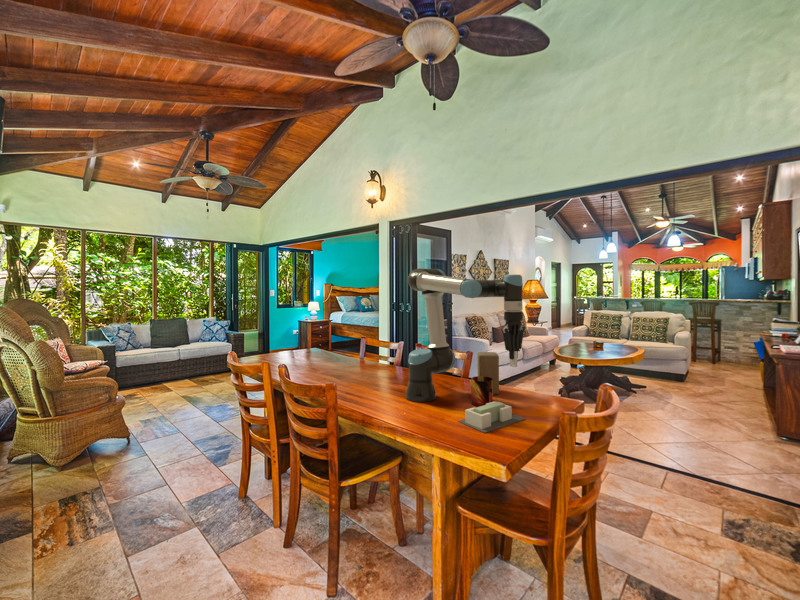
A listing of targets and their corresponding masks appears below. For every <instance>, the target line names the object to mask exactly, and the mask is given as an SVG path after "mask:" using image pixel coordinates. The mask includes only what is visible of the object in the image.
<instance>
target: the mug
mask: <svg viewBox="0 0 800 600" xmlns="http://www.w3.org/2000/svg"><path fill="white" fill-rule="evenodd" d="M470 380H471V382H470V383H471V385H470V388H471V393H470V396H471V397H470V398H471V401H470V402H471V404H470V405H471V406H472V407H475V406H476V407H475V408H477V407H480V406H484V405H486V404H487V403H490V402H494V400H493V399H494V398H493V396H494V394H493V379H492V378H490V377H484V376H478V375H477V376H473V377H471V379H470Z"/></svg>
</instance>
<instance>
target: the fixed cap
mask: <svg viewBox="0 0 800 600" xmlns="http://www.w3.org/2000/svg"><path fill="white" fill-rule="evenodd" d="M474 408H476V407H475V406H473V407H471V408H467V409H465V410H464V412H465V413H464V419H465V422H466V423H468V424H471V425H473V426H475V427H478V428H480V429H484V428H487V427H490V426H491V413H489V412H488V413H484V414H478V413H476V412H474Z"/></svg>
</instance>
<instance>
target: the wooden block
mask: <svg viewBox="0 0 800 600" xmlns="http://www.w3.org/2000/svg"><path fill="white" fill-rule="evenodd" d="M476 362H477V376H484V377H490V378H492V379H493V395H498V394H499V393H500V357H499V354H498V353H497V352H494V351H493V352H492V351H489V352H488V351H486V352H485V351H479V352H477V361H476Z"/></svg>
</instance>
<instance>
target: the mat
mask: <svg viewBox="0 0 800 600" xmlns="http://www.w3.org/2000/svg"><path fill="white" fill-rule="evenodd" d="M525 420H526V418H525V417H522V416H519V415H516V414H514V413H512V419H510V420H507V421H504V422H501V421H500V420H498V421H494V422H491V426H490V427H487V428H484V429H480V428H478V427H475V426H473V425H471V424H468V423H466V422H465V418H464V419H460V420H458V421H457V422H458V423H460V424H462V425H464V426H467V427H469V428H471V429H474V430H476V431H479V432H481V433H483V434H486V433H489V432H492V431H495V430H499V429H502V428H504V427H508V426H510V425H511V426H512V425H514V424H517V423H519V422H521V421H525Z"/></svg>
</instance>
